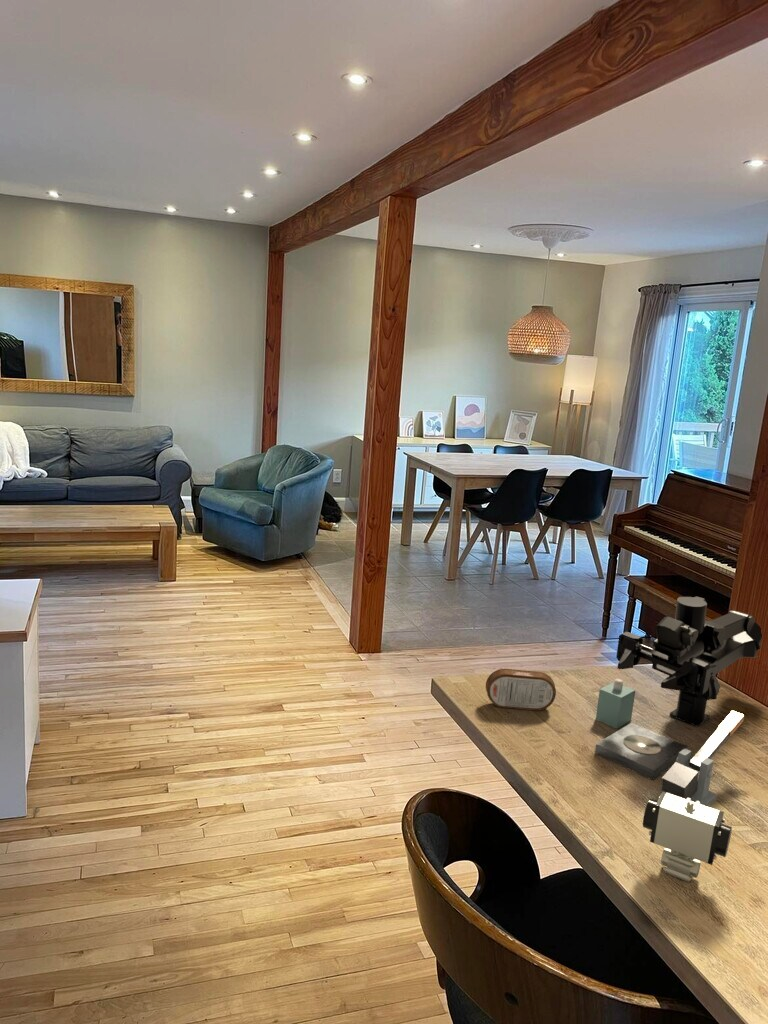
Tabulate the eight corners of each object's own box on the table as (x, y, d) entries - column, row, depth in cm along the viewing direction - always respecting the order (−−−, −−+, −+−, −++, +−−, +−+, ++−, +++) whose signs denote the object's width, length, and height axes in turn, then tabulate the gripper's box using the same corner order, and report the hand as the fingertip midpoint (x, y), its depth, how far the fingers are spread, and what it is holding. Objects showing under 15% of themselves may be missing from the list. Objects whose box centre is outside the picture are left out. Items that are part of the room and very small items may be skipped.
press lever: (726, 720, 148) (727, 703, 147) (747, 728, 146) (749, 710, 144) (661, 796, 132) (661, 777, 131) (683, 807, 130) (684, 788, 128)
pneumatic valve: (717, 897, 111) (730, 824, 109) (635, 865, 117) (646, 794, 114) (723, 877, 116) (736, 805, 113) (644, 846, 122) (655, 778, 119)
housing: (610, 711, 168) (615, 673, 166) (631, 720, 164) (636, 681, 162) (595, 719, 164) (601, 680, 162) (616, 728, 160) (622, 688, 158)
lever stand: (678, 782, 141) (684, 743, 139) (715, 800, 136) (723, 759, 134) (662, 794, 137) (669, 753, 135) (701, 812, 132) (708, 770, 130)
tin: (552, 707, 168) (556, 671, 166) (554, 713, 165) (559, 677, 163) (483, 701, 169) (487, 665, 167) (484, 708, 166) (488, 671, 164)
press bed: (630, 731, 159) (631, 721, 159) (686, 755, 151) (687, 745, 150) (594, 753, 150) (596, 742, 149) (652, 780, 141) (654, 769, 141)
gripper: (643, 600, 161) (602, 620, 151) (731, 631, 148) (692, 656, 138) (637, 647, 165) (595, 671, 155) (722, 682, 152) (683, 710, 142)
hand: (639, 675), depth 147 cm, fingers open, 9 cm apart
